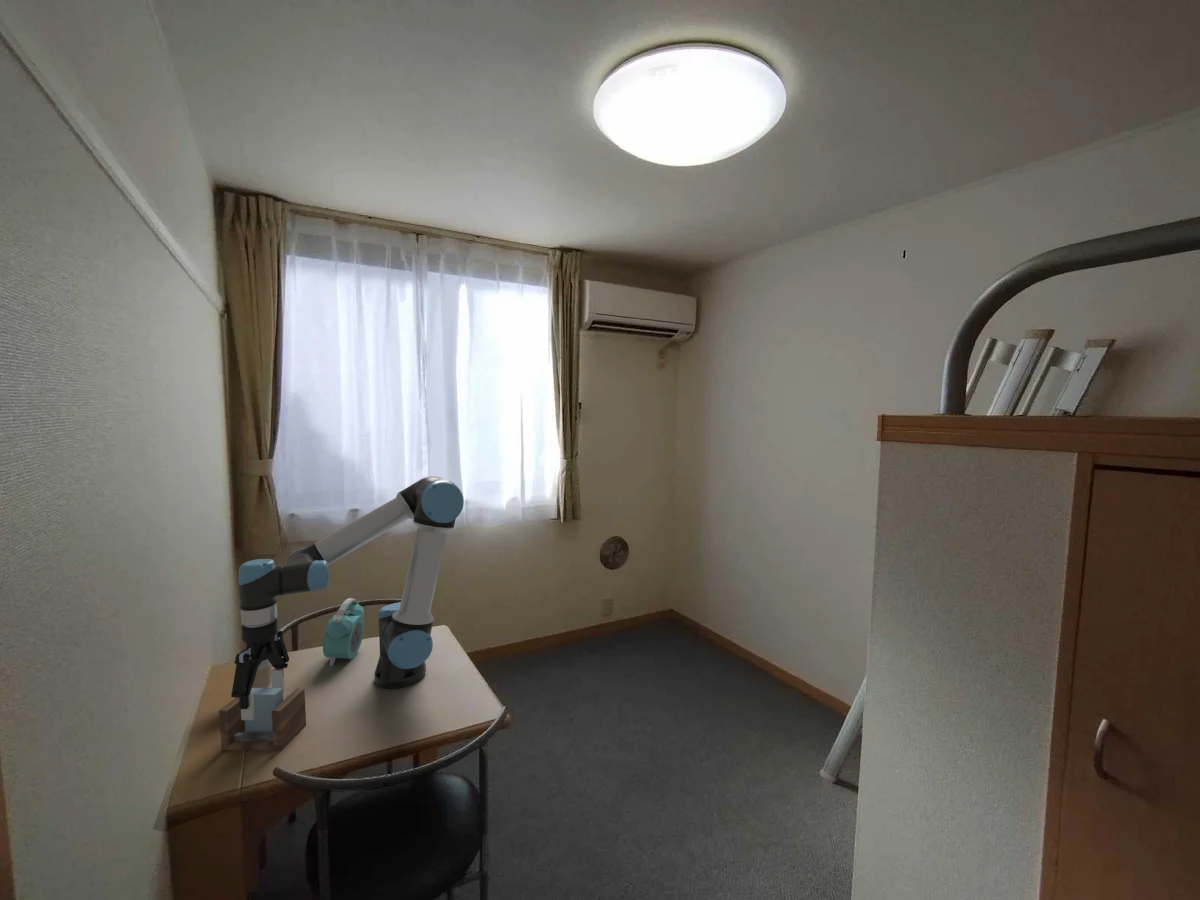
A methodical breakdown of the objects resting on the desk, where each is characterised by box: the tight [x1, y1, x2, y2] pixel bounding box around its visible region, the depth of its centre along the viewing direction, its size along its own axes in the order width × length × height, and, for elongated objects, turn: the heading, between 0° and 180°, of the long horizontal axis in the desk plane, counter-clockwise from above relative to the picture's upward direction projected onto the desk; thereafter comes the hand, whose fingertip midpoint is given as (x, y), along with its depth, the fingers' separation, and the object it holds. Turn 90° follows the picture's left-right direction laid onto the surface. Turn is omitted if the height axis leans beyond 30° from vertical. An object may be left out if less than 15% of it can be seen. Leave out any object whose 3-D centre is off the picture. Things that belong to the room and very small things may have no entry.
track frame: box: [218, 687, 307, 751], centre depth 127 cm, size 15×10×10 cm, turn 89°
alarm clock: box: [322, 597, 365, 667], centre depth 168 cm, size 17×10×20 cm, turn 5°
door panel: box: [245, 687, 284, 733], centre depth 127 cm, size 8×3×11 cm, turn 90°
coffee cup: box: [233, 648, 273, 688], centre depth 144 cm, size 9×9×15 cm
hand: (263, 705), depth 127 cm, fingers open, 10 cm apart
